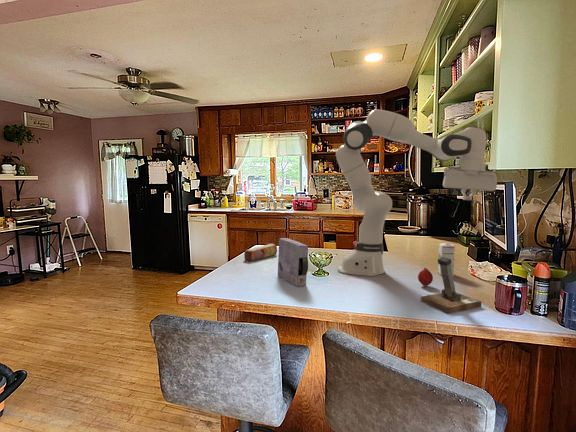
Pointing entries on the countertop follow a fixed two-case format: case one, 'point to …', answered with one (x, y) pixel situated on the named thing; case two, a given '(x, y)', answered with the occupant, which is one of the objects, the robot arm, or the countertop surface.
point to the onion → (425, 277)
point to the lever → (447, 276)
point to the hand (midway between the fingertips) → (467, 200)
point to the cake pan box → (293, 261)
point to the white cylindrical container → (446, 254)
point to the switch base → (450, 302)
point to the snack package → (260, 252)
